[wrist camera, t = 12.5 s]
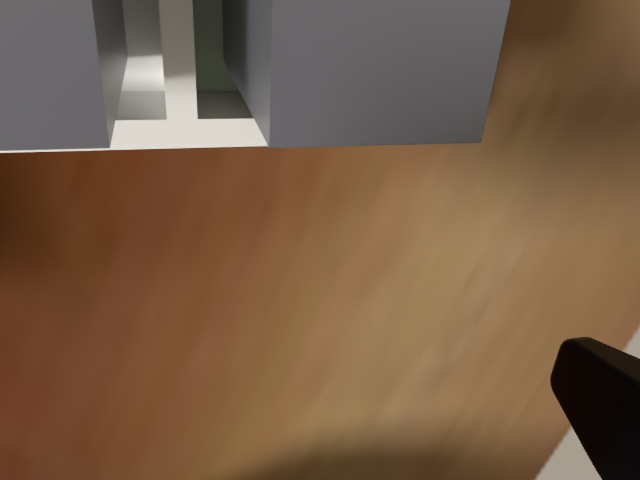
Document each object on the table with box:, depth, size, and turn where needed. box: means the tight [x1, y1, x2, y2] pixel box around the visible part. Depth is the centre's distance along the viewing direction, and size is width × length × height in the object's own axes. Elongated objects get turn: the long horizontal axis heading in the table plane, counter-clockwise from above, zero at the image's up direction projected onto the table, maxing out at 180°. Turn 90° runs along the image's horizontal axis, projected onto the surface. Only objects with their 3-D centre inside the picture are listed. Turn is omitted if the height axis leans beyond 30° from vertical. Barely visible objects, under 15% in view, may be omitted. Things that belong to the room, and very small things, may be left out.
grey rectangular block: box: [222, 0, 511, 148], centre depth 13 cm, size 4×4×8 cm
